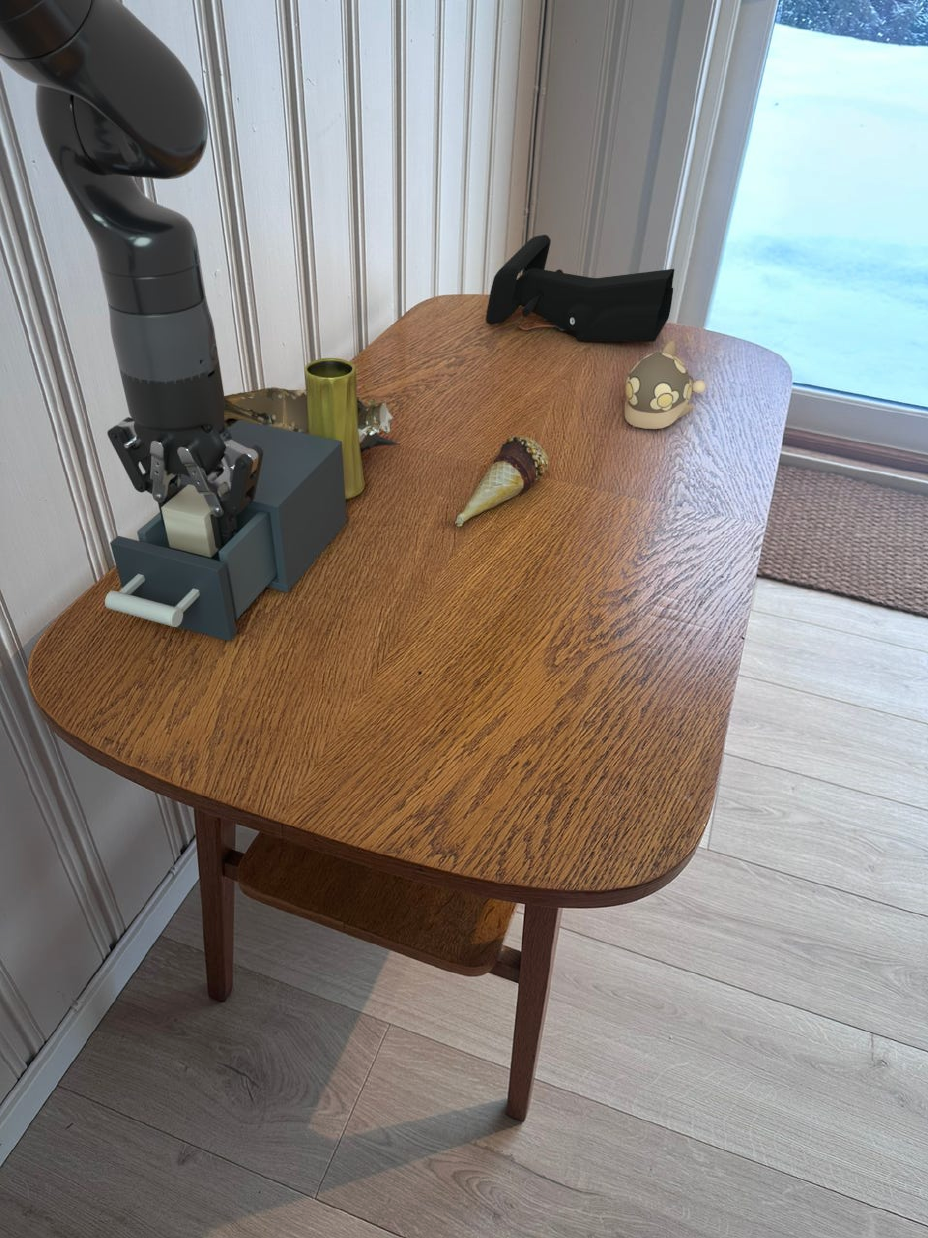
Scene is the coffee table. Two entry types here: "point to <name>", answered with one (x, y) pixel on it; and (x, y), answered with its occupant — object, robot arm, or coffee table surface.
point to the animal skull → (302, 413)
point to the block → (189, 523)
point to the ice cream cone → (507, 475)
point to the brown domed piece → (659, 390)
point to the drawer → (194, 577)
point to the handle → (582, 298)
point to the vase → (336, 413)
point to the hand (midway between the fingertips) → (202, 538)
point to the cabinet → (295, 494)
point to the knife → (537, 325)
